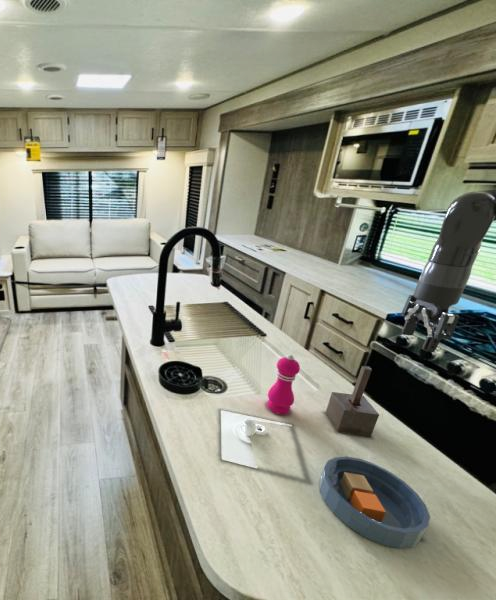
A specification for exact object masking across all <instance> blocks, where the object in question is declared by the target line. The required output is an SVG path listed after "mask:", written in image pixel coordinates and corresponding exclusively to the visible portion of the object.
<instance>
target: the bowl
mask: <svg viewBox="0 0 496 600" xmlns="http://www.w3.org/2000/svg"><path fill="white" fill-rule="evenodd" d="M344 472H346V473H352V474H358V475H363V476H364V477H365V478H366V480H367V482H368V483H369V485H370V486H371V488H372V490H373V493H372V494H375V495H376V496H377V498H378V500H379V501H380V503H381V505H382V506H383V508H384V509H385V511H386V513H385V516H384V518H383V520H382V522H381V523H380V522H378V521H375V520H373V519H371V518H369V517H367V516H366V515H364V514H363V513H361V512H359V511H358V510H356V509H355V508H353V507H352V506H351V505H350V500H348V499H347V497H346V495H345V493H344V491H343V489H342V487H341V486H340V482H341V479H342V477H343V474H344ZM318 483H319V488H318V489H319V492H320V495H321V497H322V499H323V501H324V503H325V504H326V506H327V507H328V508H329V510H330V511H331V512H332V513H333V515H334V516H336V517H337V518H338V519H339V520H340V521H341V522H342V523H344V525H345V526H347V527H348V528H350V529H351V530H352V531H355V532H356V533H358V534H359V535H360V536H362V537H364V538H366V539H368V540H371V541H372V542H374V543H377V544H379V545H382V546H386V547H390V548H395V549H407V548H412V547H414V546H415V545H417V544H418V543H420V542H421V540H422V538H423V537H424V535H425V533H426V531H427V529H428V528H429V524H430V520H431V515H430V513H429V509H428V507H427V505H426V503H425V502H424V501H423V499H422V497H420V495H419V494H418V492H416V491H415V490H414V489H413V488H412V487H411V486H410V485H409V484H407V482H405V480H403V479H402V478H400V477H398V476H397V475H396V474H394V473H393V472H391V471H389V470H388V469H386V468H384V467H381V466H379V465H377V464H376V463H374V462H371V461H368V460H365V459H363V458H358V457H352V456H347V455H346V456H335V457H333V458H331V459H328V460H327V462H326V463H325V465H324V466H323V469H322V472H321V475H320V478H319V481H318Z"/></svg>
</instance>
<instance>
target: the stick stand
mask: <svg viewBox="0 0 496 600" xmlns="http://www.w3.org/2000/svg"><path fill="white" fill-rule="evenodd" d="M351 396H352V393H344V392H335V391H331V394H330V397H329V400H328V403H327V406H326V410H325V414H326V415H327V417H328V419H329V421H330V422H331V424H332V426H333V427H334V428H335V430H336V432H337V433H342V434H348V435H355V436H362V437H369V438H371V437H372V434H373V432H374V430H375V427H376V424H377V422H378V420H379V417H380V414H379V412H378V411H377V410H376V409H375V407H374V406H373V405H372V404H371V402H369V400H368V399H367V398H366V397H365V396H364V395H362V398H361V401H360V404H359V406H357V405H351V403H350V399H351Z"/></svg>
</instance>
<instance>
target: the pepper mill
mask: <svg viewBox="0 0 496 600" xmlns="http://www.w3.org/2000/svg"><path fill="white" fill-rule="evenodd" d="M276 368H277V371H276V377H277V378H276V381H275V383H274V384H273V385H272V386H271V387H270V388H269V389H268V393H267V398H268V400H267V406H266V407H267V408H268V409H269V410H270V411H271V412H273V413H275V414H277V415H280V416H281V415H282V416H285V415H288V414H289V413H290V411H291V406H292V405H294V403H295V394H294V391H293V382H294V381H295V380H296V377H297V375H298V374H299V372H300V370H301V366H300V362H298V361H297V360H296V359H295V356H294V355H293V354H291V353H290V354H287V356H286V357H285V356H284V357H281V358H279V359H278V360H277V362H276Z"/></svg>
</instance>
